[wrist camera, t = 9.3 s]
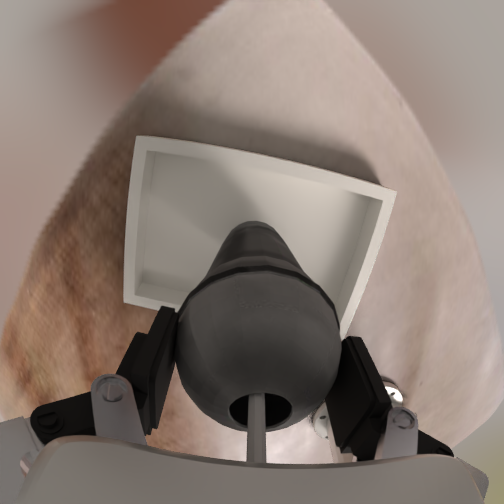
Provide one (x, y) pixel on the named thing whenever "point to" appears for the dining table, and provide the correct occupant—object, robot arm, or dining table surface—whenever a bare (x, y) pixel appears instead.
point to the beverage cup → (257, 338)
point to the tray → (245, 219)
